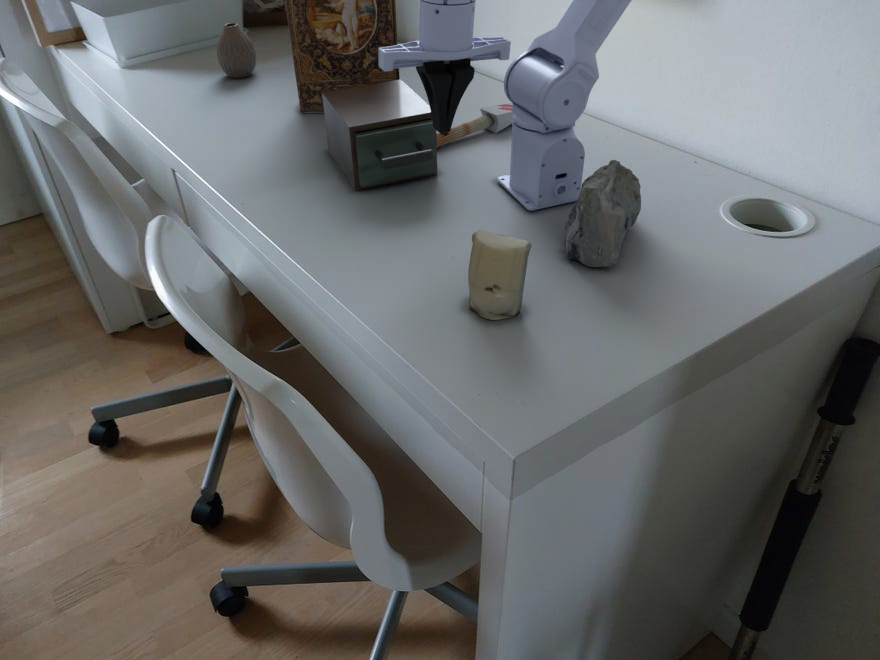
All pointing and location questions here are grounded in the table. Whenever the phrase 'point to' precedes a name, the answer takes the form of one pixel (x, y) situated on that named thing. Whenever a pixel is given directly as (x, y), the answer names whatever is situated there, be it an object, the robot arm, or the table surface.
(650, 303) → the table surface
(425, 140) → the drawer
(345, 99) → the cabinet
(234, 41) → the vase
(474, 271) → the cream tall block
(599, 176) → the mineral rock
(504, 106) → the paintbrush
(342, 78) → the book
